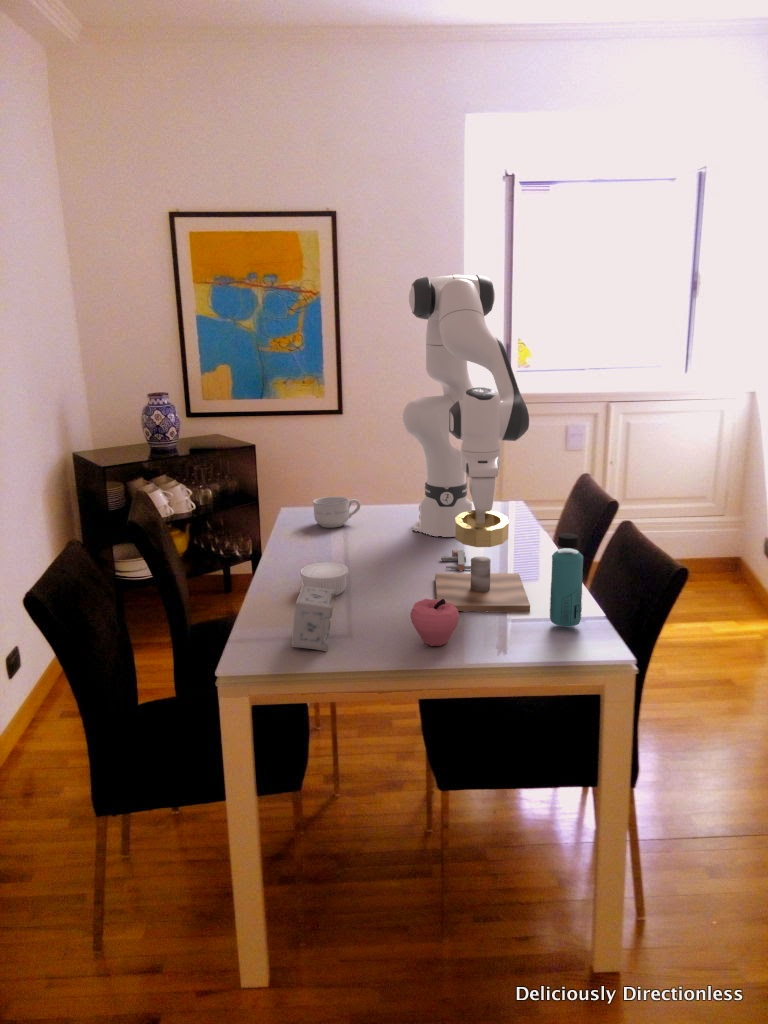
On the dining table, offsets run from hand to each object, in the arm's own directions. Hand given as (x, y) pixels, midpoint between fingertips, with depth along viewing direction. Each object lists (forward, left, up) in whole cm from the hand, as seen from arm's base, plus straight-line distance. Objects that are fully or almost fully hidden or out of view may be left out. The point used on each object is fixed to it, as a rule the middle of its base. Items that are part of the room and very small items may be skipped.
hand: (479, 520), depth 185 cm
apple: (+31, -11, -17) cm, 37 cm away
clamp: (-15, -3, -17) cm, 23 cm away
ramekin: (+2, -36, -17) cm, 40 cm away
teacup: (-51, -38, -17) cm, 66 cm away
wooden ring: (+5, 0, -2) cm, 5 cm away
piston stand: (+5, 0, -16) cm, 17 cm away
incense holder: (+30, -35, -17) cm, 49 cm away
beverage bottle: (+23, +16, -17) cm, 32 cm away
